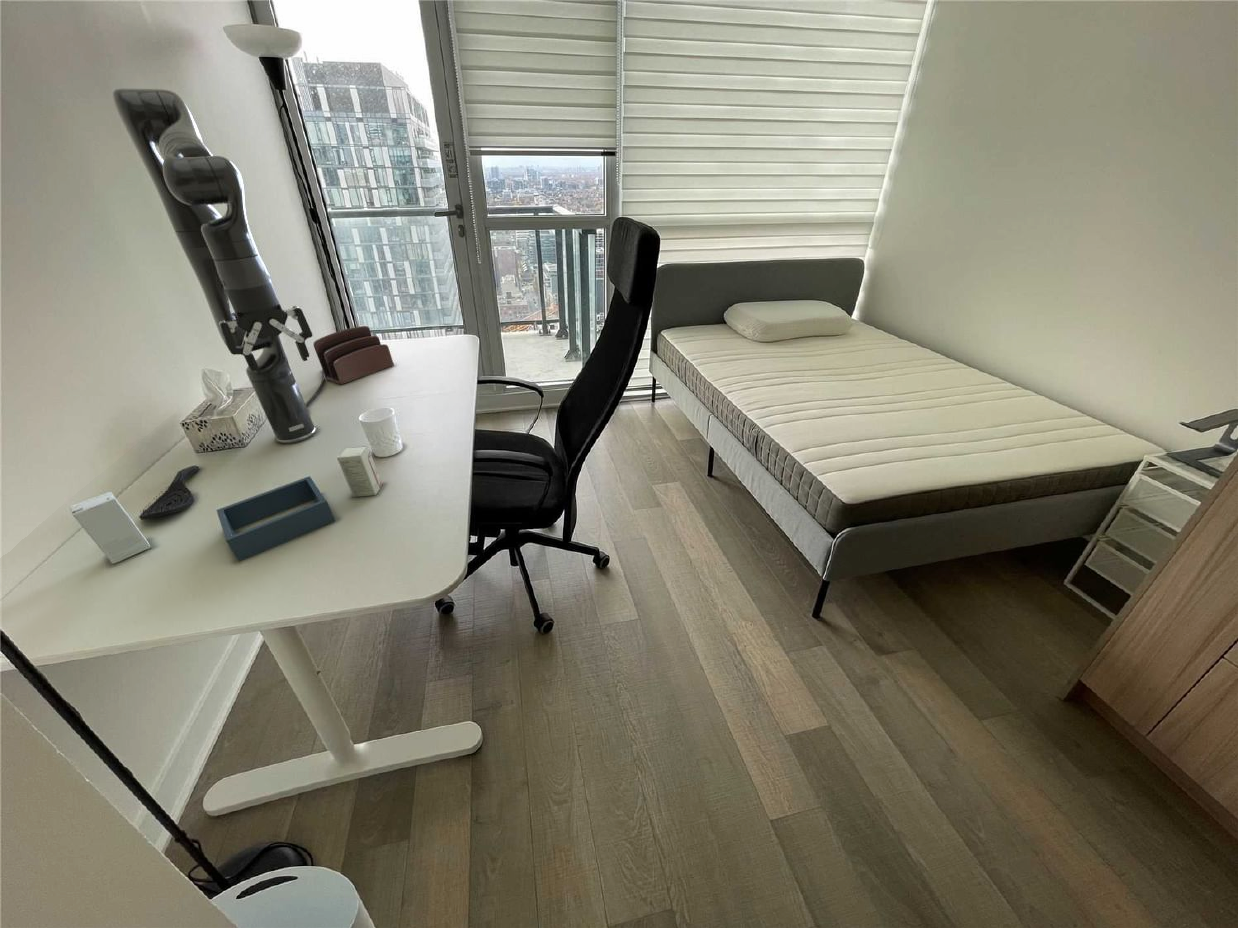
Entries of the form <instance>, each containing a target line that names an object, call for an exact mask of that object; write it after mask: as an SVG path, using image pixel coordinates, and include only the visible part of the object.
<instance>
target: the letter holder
mask: <svg viewBox="0 0 1238 928" xmlns="http://www.w3.org/2000/svg"><path fill="white" fill-rule="evenodd" d="M313 349H314V351H315V353H316V356H317V358H318V361H319V364H320V367H321V369H323V370H322V373H323V372H324V375H325V380H326V381H330V382H332V383H335V384H338V385H341V386H342V385H345V384H347V383H350V382H353V381H356V380H358V379H361V378H363V377H366V376H369V375H372V374H375V373H377V372H379V371H382V370H386V369H388V368H390V367H393V366H395V363H394V360H393V358H392V357H393V356H392V354H391V351H390V348H389V345H388V344H382V342H381V340H380V337H379V336H378V335H373V334H372V331H371V328H370V327H369V326H367V325H362V326H354V327H350V328H345V329H342V330H338V331H335V332H333V333H330V334H327V335H324V336H322V337H319V338H318V339H315V341H314V342H313Z"/></svg>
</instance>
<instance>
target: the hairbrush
mask: <svg viewBox="0 0 1238 928" xmlns="http://www.w3.org/2000/svg"><path fill="white" fill-rule="evenodd" d="M199 469H200V467H199V466H198V465H190V466H188V467H185V468H183V469H181V470H178V471H177V472H176V474H175V476H174V479H173V480H172V481H171V483H170V485H169V486H166V488H164V490H165V491H164V492H162V490H161V491H160V493H161V494H159V495H156V496H155V497H154V498H153V502H152V501H149V503H147V505H146V506H144V508H145V509H142V511H141V510H140V515H139V516H138V518H139V519H140V521H144V520H147V519H153V518H158V517H162V516H166V515H169V514H173V513H177V512H180V511H183V510H186V509H188V508H189V507H190V506H191V505H192V504H193V503H194V501H195V499H194V495H193V493H192V491H191V490H190V489H189V487H187V485H186V484H185V482H186V481H187V479H188V478H189V477H190V476H191V475H193V474H194V473H196V472H197V471H199ZM155 498H156V499H155ZM151 503H152V504H151Z"/></svg>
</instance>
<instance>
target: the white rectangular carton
mask: <svg viewBox="0 0 1238 928" xmlns="http://www.w3.org/2000/svg"><path fill="white" fill-rule="evenodd" d="M336 460H337V461H338V464H339V465H340V469H341V471H342V474H343V476H344V478H345V480H346V483H347V485H348V488H349V490H350V493H351V495H352V497H353V498H356V497H357V498H358V497H369V496H376V495H377V493H378V492H379V491H380V489H381V488H382V486H383V483H382V480H381V477H380V475H379V472H378V470H377V467H376V464H375V461H374V459H373V457H372V454H371V450H370V449H369V446H368V445H364V446H363V445H361V446H351V447H344V449H343V450H342V451H341V452H340V453H339V454H338V455H337V457H336Z"/></svg>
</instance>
